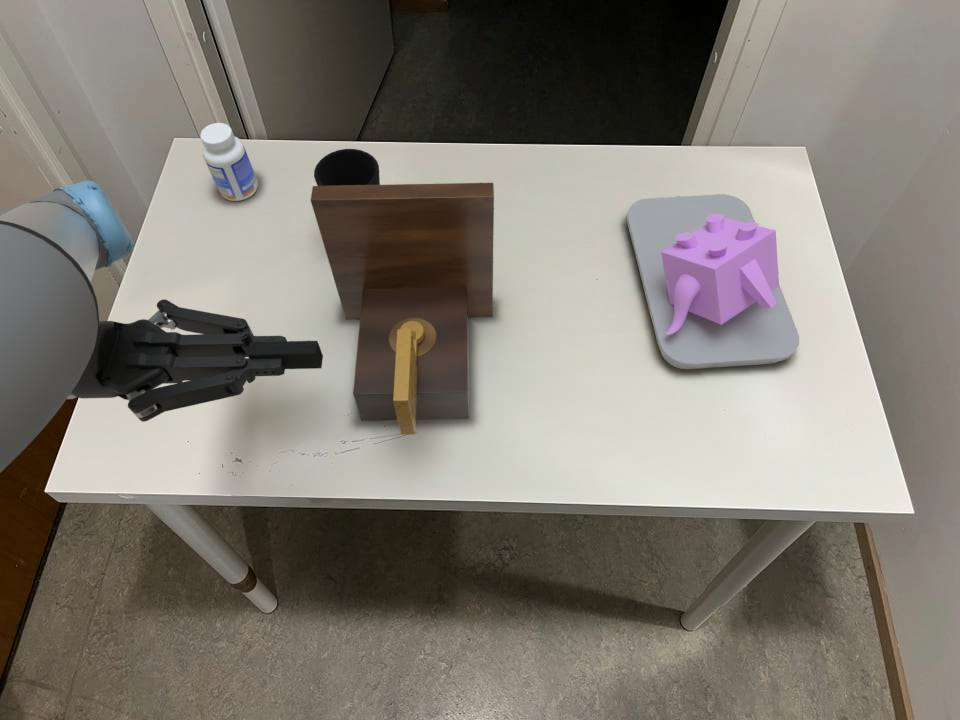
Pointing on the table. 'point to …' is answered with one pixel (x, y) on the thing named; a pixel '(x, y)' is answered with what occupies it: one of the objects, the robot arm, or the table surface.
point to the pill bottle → (228, 162)
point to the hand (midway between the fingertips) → (319, 354)
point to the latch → (406, 375)
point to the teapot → (720, 270)
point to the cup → (347, 169)
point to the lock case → (410, 283)
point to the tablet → (698, 339)
